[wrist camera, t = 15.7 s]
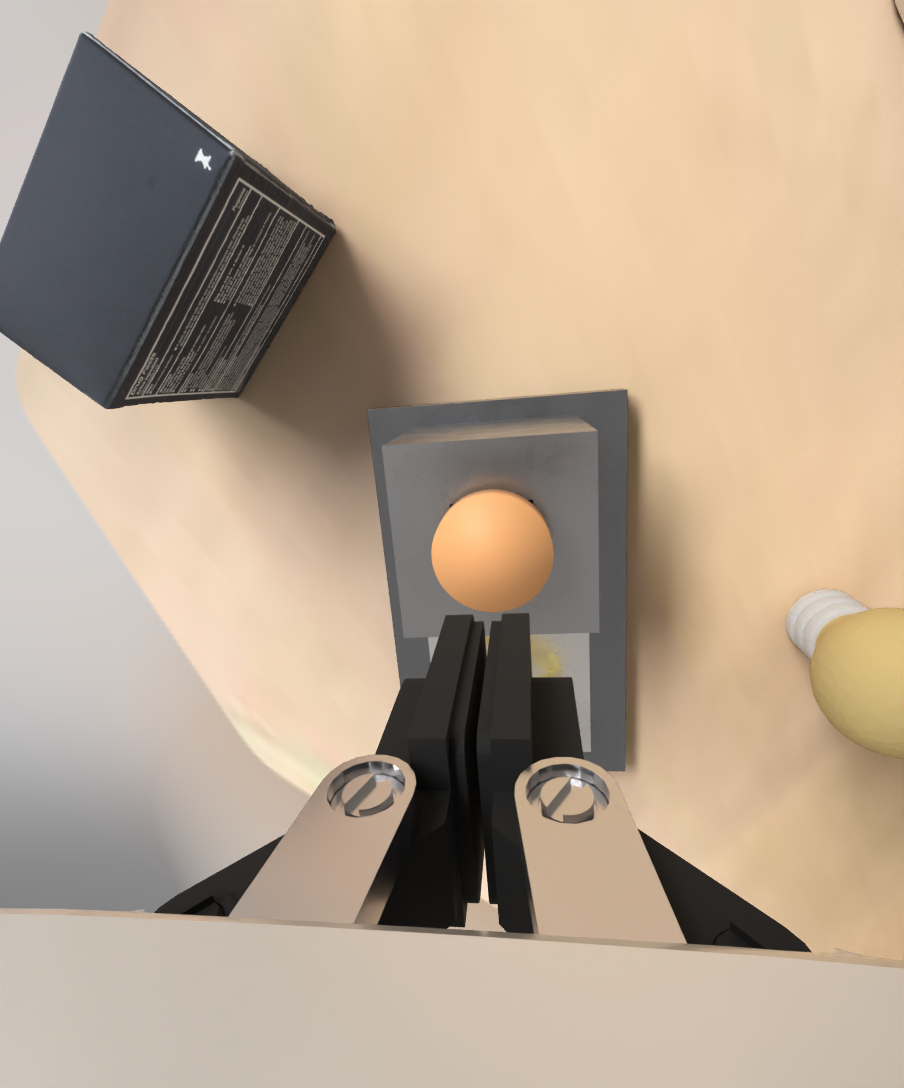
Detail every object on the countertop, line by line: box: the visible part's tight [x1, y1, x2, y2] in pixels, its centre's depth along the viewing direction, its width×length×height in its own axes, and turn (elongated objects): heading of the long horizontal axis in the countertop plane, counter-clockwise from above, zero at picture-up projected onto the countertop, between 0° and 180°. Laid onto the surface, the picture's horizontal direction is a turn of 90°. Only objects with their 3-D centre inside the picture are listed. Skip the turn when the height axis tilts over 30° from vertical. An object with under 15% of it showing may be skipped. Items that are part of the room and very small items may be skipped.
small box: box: [0, 31, 336, 409], centre depth 24 cm, size 11×6×10 cm, turn 143°
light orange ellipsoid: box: [431, 489, 554, 612], centre depth 24 cm, size 4×4×8 cm
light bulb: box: [786, 589, 904, 759], centre depth 26 cm, size 6×6×10 cm
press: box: [367, 389, 627, 771], centre depth 28 cm, size 13×22×10 cm, turn 4°
